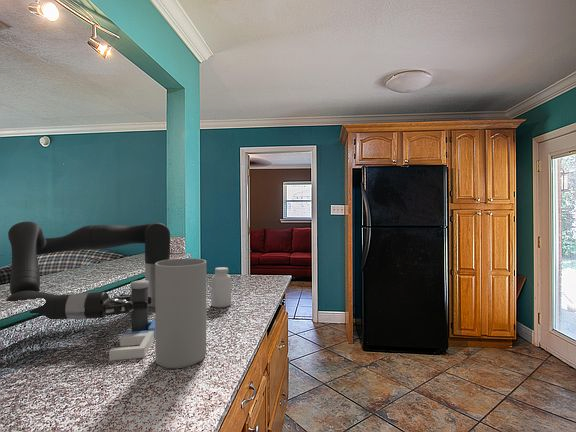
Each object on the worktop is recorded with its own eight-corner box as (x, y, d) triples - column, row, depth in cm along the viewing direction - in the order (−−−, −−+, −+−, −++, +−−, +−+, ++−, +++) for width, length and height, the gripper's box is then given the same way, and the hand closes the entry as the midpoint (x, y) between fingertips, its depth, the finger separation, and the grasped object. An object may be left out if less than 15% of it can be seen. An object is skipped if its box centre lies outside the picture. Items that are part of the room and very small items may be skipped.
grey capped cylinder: (127, 331, 95) (127, 282, 95) (142, 326, 99) (142, 279, 99) (136, 335, 92) (136, 284, 92) (152, 329, 96) (152, 281, 96)
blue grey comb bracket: (109, 360, 79) (109, 348, 79) (132, 329, 100) (132, 319, 100) (144, 357, 81) (144, 345, 81) (160, 327, 101) (160, 318, 101)
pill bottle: (234, 303, 129) (234, 267, 129) (224, 308, 121) (224, 270, 121) (218, 301, 131) (218, 265, 131) (207, 306, 124) (207, 269, 124)
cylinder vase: (177, 375, 72) (177, 268, 72) (145, 361, 79) (144, 263, 79) (216, 354, 83) (216, 261, 83) (184, 343, 90) (184, 257, 89)
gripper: (97, 310, 99) (154, 307, 103) (77, 326, 85) (143, 322, 89) (97, 287, 99) (154, 285, 103) (76, 299, 85) (143, 296, 89)
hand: (149, 302), depth 96 cm, fingers closed on grey capped cylinder, 4 cm apart
